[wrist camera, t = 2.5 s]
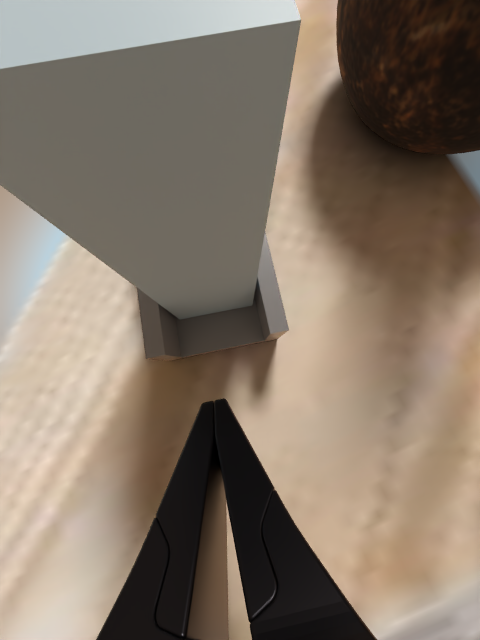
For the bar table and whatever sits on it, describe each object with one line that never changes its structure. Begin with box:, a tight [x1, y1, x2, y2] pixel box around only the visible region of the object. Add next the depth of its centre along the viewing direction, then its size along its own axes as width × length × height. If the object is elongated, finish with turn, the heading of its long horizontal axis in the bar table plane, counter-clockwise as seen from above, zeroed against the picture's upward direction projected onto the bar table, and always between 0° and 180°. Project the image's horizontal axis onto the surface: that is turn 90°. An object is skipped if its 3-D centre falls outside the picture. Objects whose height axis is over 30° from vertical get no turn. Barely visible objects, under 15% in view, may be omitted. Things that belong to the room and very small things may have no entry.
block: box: [0, 0, 301, 320], centre depth 10 cm, size 5×5×14 cm
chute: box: [137, 233, 289, 361], centre depth 16 cm, size 14×8×4 cm, turn 11°
